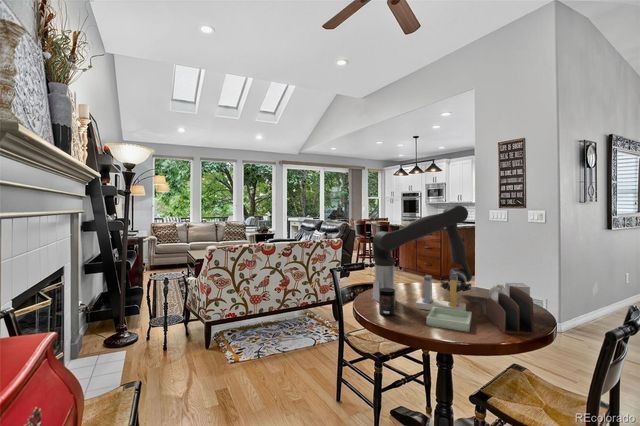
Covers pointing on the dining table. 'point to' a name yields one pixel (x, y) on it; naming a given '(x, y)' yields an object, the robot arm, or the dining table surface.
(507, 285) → the supplement box
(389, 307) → the supplement container
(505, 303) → the letter holder
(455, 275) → the yellow grey long block
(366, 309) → the dining table surface
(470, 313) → the tray
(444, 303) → the block
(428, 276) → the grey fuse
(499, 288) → the cat figurine
